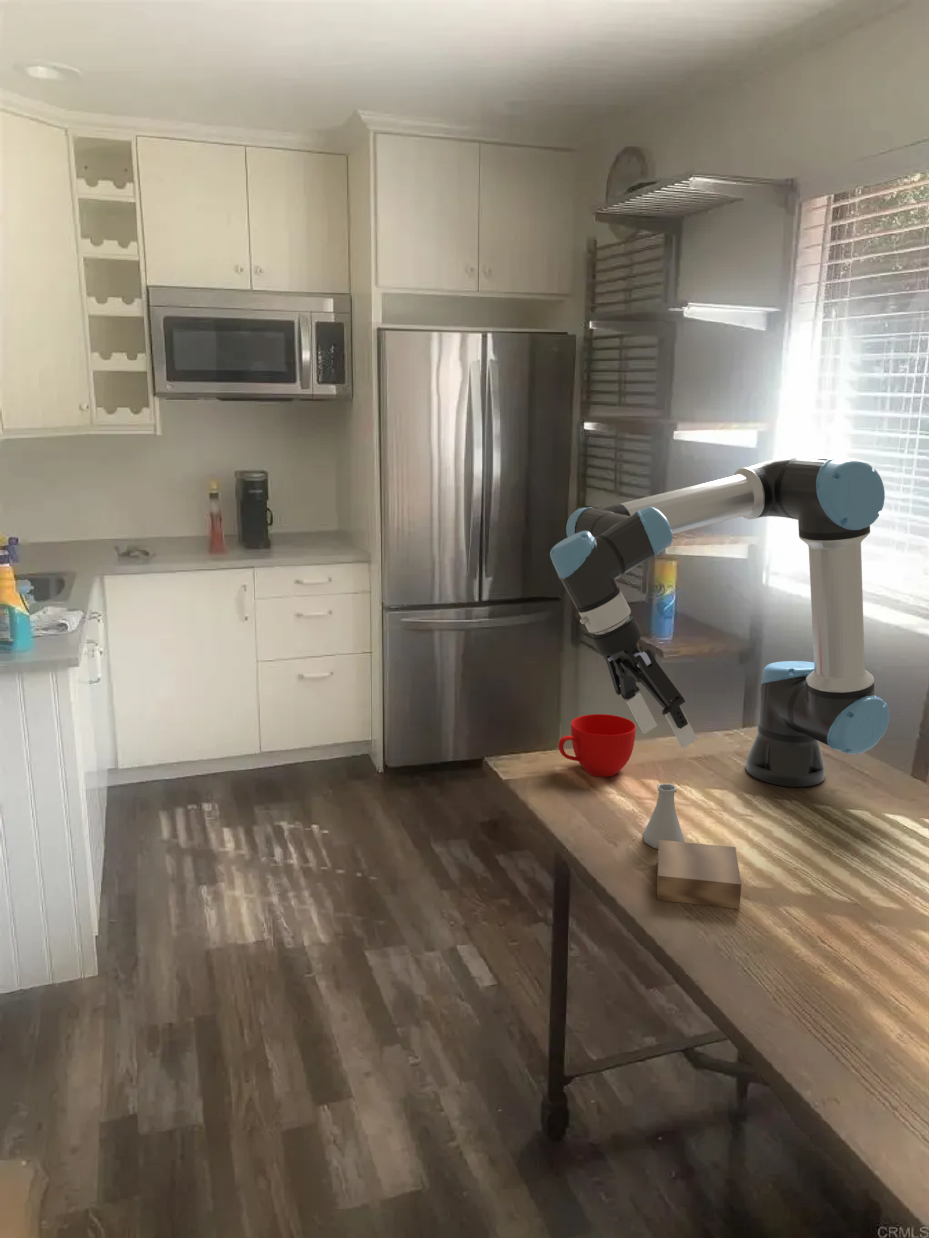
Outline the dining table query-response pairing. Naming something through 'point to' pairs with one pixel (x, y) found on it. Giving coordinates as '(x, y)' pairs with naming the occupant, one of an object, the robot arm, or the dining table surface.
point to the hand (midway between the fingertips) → (669, 736)
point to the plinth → (698, 874)
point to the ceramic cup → (601, 743)
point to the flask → (663, 819)
